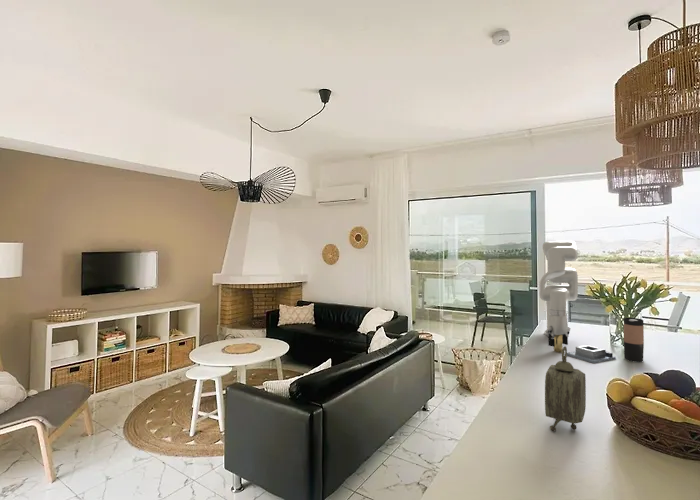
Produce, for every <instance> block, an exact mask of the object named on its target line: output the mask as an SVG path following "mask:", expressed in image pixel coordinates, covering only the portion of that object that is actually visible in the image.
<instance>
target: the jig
mask: <svg viewBox="0 0 700 500" xmlns="http://www.w3.org/2000/svg"><path fill="white" fill-rule="evenodd" d="M567 357H572V358H575V359H578V360H581V361H585V362H588V363H592V364H597V363H604V362H608V361H613V360H614V361H615V360H616V358H617V357H616V356H614V355H613V352H610V351H606V349H605V348H600V347H597V346H593V345H590V344H585V345H579V346H575V351H569V352H568V351H567Z"/></svg>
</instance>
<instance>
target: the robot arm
mask: <svg viewBox="0 0 700 500" xmlns="http://www.w3.org/2000/svg"><path fill="white" fill-rule="evenodd" d="M542 250H543V253H544V256H545V258H546V260H547V261H546V262H547V272H546V273H545V274H543V275H542V277H541V279H540V281H539V298H540V300H542V301H544V302H546V330H544V332H543V334H544V335H545V336H547V338H548V346H549V347H553V348H554V346H555V339H554V337H555V335H562V338H563V345H566V346H567V345H568V344H569V343H568V342H569V337H570V336H569V335H570V332H571V328H570V327H569V325H568V318H567V317H568V316H567V302H568V301H570V302H572V301H573V302H575V301H577V300H578V297H579V296H578V295H579V293H578V292H579V291H578V289H579V282H578V279H579V278H578V276H579V275H578V272H577V270H576V269H575V268H572V267H566V262H575V261H576V260H577V259H578V254H579V253H578V248H577V244H576V242H575V241H572V240H551V241H548V240H547V241H545V242H544V243H543V244H542ZM547 282H549V283H553V284H549V285H547V286H546V283H547ZM563 284H564V285H563ZM567 284H568V285H567Z"/></svg>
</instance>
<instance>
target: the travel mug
mask: <svg viewBox="0 0 700 500" xmlns="http://www.w3.org/2000/svg"><path fill="white" fill-rule="evenodd" d="M644 331H645V330H644V319H642V318H637V317H624V318H623V354H624V360H626V361H628V360H629V362H633V361H634V363H642V361H643V362H644V351H645V348H644V347H645V339H644V338H645V337H644V335H645V332H644Z"/></svg>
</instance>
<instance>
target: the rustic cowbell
mask: <svg viewBox="0 0 700 500" xmlns="http://www.w3.org/2000/svg"><path fill="white" fill-rule="evenodd" d="M567 353H568V349H567V346H563V349H562V353H561V360H559V361H557V362H556V363H555V364H551V365H550V366H549V367H548V368H547V370H546V373H545V379H544V410H545V411H544V412H545V414H544V415H545V417H548V418H551V419H553V420H554V419H555V421H554V423H553V425H550V426H549V430H550V431H551V432H556V431H557V428H556V426H557V425H558V423H560V422H561V421H562V422H565V423H570V429H572V430H574V431H575V430H576V429H577V427H578V426H577V424H579V423H582V422H583V421H584V417H585V414H586V409H587V408H586V403H587V402H586V398H587V397H586V394H587V393H586V392H587V391H586V389H587V387H586V386H587V385H586V382H587V381H586V380H587V379H586V373H584V372H583V371H581V370H580V369H578V368H574V366H573V365H572V363H571V362H569V361H568V360H567V357H568V356H567Z"/></svg>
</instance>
